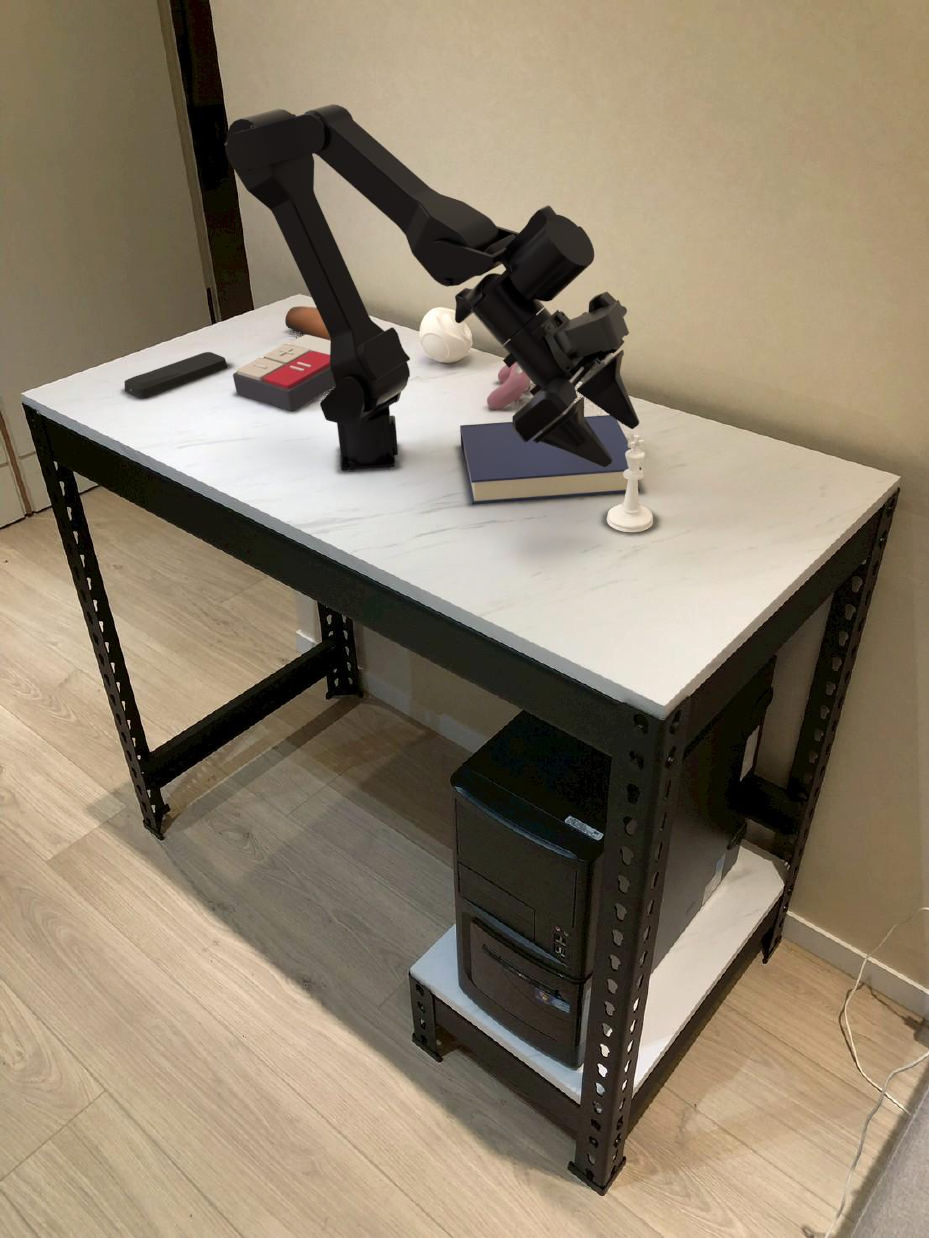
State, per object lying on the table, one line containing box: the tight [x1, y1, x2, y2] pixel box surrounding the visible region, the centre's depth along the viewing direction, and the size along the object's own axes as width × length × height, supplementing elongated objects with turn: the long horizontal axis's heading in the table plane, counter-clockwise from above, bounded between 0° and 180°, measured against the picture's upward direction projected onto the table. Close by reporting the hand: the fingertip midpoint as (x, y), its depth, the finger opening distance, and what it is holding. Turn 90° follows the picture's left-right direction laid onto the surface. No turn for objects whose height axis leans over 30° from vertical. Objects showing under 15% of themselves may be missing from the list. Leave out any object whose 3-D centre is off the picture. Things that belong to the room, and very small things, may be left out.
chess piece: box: [606, 434, 654, 533], centre depth 103 cm, size 5×5×10 cm
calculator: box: [232, 334, 336, 412], centre depth 137 cm, size 11×4×15 cm
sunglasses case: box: [284, 305, 331, 341], centre depth 150 cm, size 18×7×7 cm
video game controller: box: [486, 363, 534, 410], centre depth 131 cm, size 10×5×7 cm, turn 168°
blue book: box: [459, 414, 642, 505], centre depth 115 cm, size 19×14×3 cm
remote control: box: [124, 351, 228, 399], centre depth 141 cm, size 5×2×15 cm
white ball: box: [418, 307, 473, 364], centre depth 141 cm, size 8×8×8 cm
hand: (623, 444), depth 101 cm, fingers open, 9 cm apart
